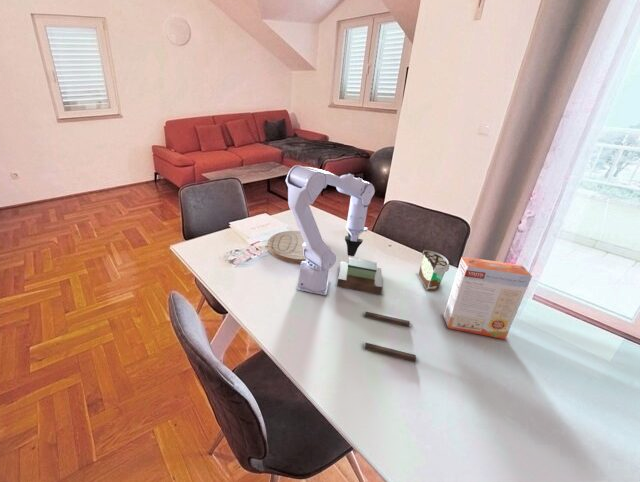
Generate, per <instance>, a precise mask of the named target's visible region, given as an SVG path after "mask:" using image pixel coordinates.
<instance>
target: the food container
mask: <svg viewBox="0 0 640 482" xmlns="http://www.w3.org/2000/svg"><path fill="white" fill-rule="evenodd" d="M421 254H422V255H421V261H420V264H419V265H420V266H419V270H418V274H417V275H418V277H419V279H420V281H421V283H422V284H423V286H424V288H425V290H426V291H436V290H438V289H439V287H440V285H441V283H442V280H443V278H444V276H445V273H446V272H448V271H449V269H450V262H449V260H448V258H447V257H446V256H444V255H443V254H440V253H438V252H436V251H433V250H428V249H423V251H422V253H421Z"/></svg>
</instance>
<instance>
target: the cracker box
mask: <svg viewBox="0 0 640 482" xmlns="http://www.w3.org/2000/svg"><path fill="white" fill-rule="evenodd" d="M532 277H533V275H532V274H531V273H530V272H529V271H528V269H526V268H525V267H524V266H523V265H522V264H519V263H518V264H517V263H510V262H503V261H497V260H496V261H494V260H488V259H482V258H481V259H480V258H475V257H474V258H473V257H468V256H467V257H466V256H461V258H460V260H459V264H458V268H457V271H456V274H455V277H454V280H453V283H452V286H451V289H450V293H449V296H448V300H447V303H446V306H445V310H444V313H443V318H444V322H445V324H446V326H447V329H450V330H456V331H460V332H465V333H471V334H475V335H482V336H486V337H491V338H495V339H501V340H506V339H507V336H508V334H509V332H510V329H511V327H512V325H513V323H514V320H515V318H516V315H517V313H518V310H519V308H520V306H521V303H522V301H523V299H524V297H525V294H526V291H527V290H528V287H529V284H530V282H531V280H532Z"/></svg>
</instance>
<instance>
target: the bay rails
mask: <svg viewBox="0 0 640 482" xmlns="http://www.w3.org/2000/svg"><path fill="white" fill-rule="evenodd" d="M364 317H365V318H368V319H373V320H377V321H382V322H384V323H391V324H395V325H398V326H399V325H400V326H404V327H407V328H409V327H410V325H411V322H410V320H406V319H402V318H398V317H393V316H389V315H384V314H380V313H375V312H372V311H371V312H370V311H364ZM364 349H365V350H368V351H372V352H374V353H379V354H383V355H388V356H391V357H394V358H399V359H403V360H407V361H411V362H416V360H417V356H416V354H414V353H409V352H405V351H402V350H398V349H397V350H396V349H395V348H394V349H393V348H390V347H385V346H381V345H377V344H373V343H370V342H365V343H364Z"/></svg>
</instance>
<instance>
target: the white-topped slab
mask: <svg viewBox="0 0 640 482" xmlns="http://www.w3.org/2000/svg"><path fill="white" fill-rule="evenodd" d="M347 267H348V261H347V262H346V261H342V260H341V261H340V263H339V269H338V270H339V271H338V277H337V287H341V288H345V289H351V290H355V291H360V292H365V293H371V294H376V295H382V291H383V277H382V268H381V267H377V272H376V275H375V279H374V280H373V279H367V278H362V277H357V276H351V275H347Z"/></svg>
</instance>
